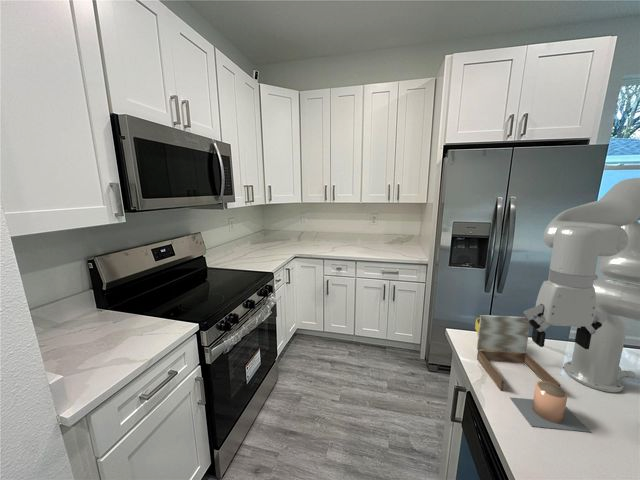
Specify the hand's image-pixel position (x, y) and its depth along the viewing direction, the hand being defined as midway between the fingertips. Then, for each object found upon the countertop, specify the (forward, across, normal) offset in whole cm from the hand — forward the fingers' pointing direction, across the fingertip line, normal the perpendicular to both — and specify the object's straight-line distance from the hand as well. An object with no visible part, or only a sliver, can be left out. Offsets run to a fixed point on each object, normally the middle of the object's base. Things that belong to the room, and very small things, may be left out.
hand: (559, 344), depth 63 cm
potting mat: (+20, 0, 0) cm, 20 cm away
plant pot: (+20, 0, -29) cm, 35 cm away
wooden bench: (+20, 0, -14) cm, 24 cm away
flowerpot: (+19, 0, 0) cm, 19 cm away
